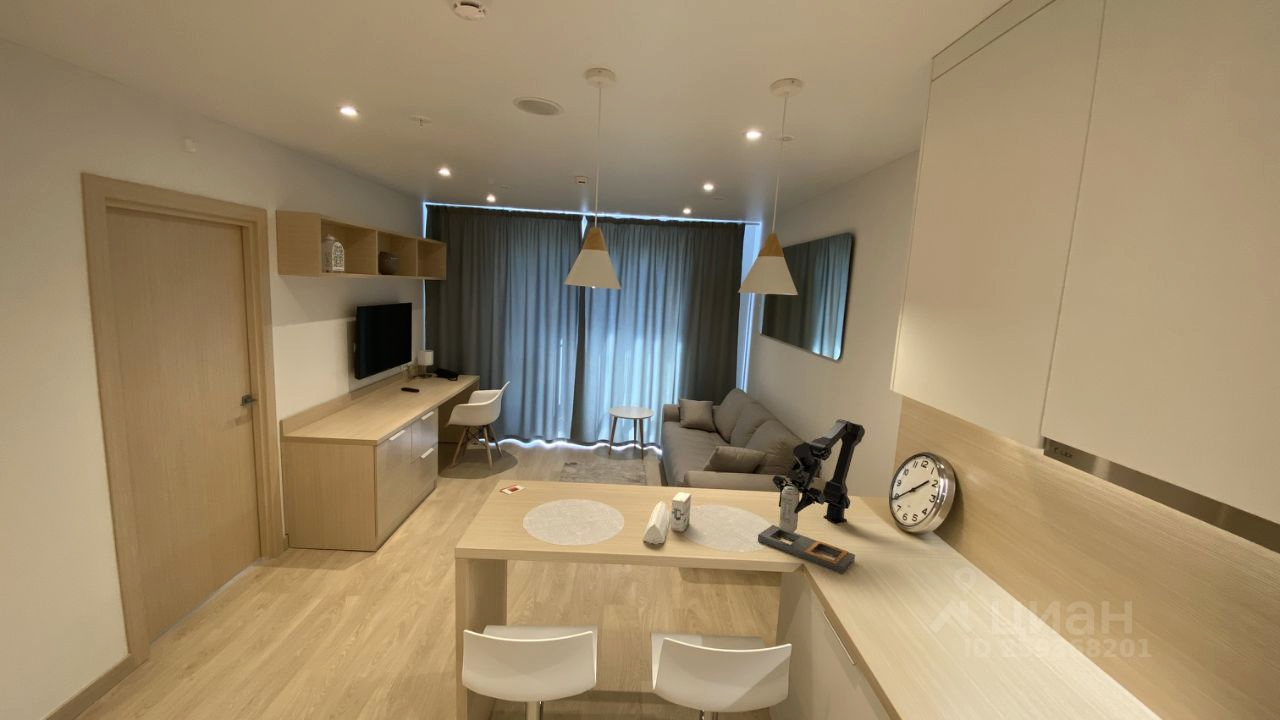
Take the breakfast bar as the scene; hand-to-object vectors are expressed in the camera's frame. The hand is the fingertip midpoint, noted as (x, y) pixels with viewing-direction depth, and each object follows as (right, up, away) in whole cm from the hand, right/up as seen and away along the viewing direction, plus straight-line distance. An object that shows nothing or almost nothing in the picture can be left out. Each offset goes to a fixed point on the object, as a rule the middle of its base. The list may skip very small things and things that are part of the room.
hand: (787, 509), depth 178 cm
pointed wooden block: (-45, -11, +10) cm, 47 cm away
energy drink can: (+1, -8, +2) cm, 8 cm away
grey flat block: (+6, -14, -1) cm, 15 cm away
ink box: (-36, -10, +14) cm, 40 cm away
